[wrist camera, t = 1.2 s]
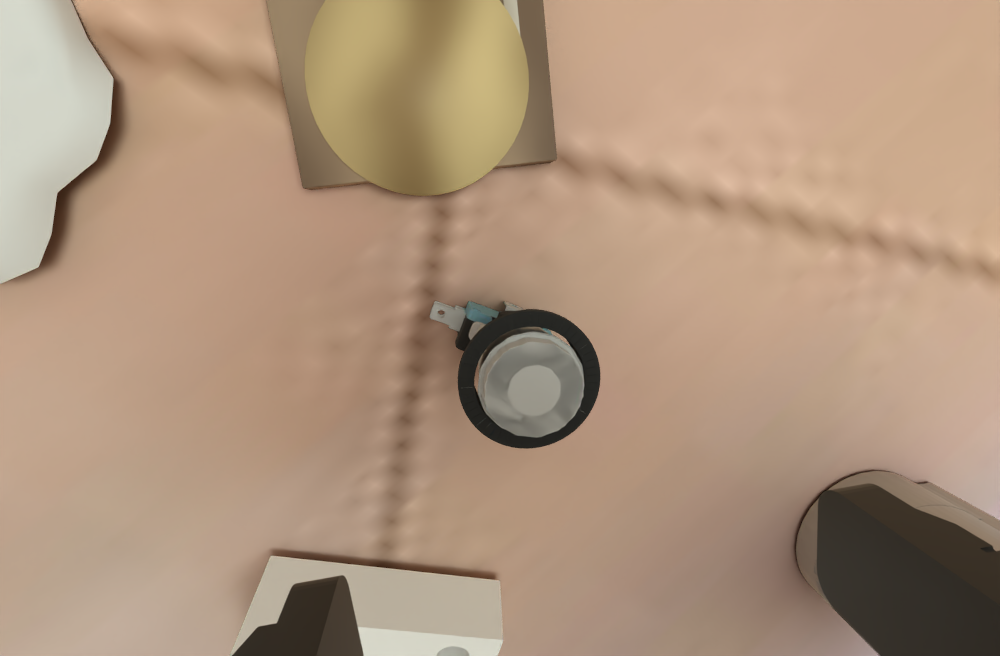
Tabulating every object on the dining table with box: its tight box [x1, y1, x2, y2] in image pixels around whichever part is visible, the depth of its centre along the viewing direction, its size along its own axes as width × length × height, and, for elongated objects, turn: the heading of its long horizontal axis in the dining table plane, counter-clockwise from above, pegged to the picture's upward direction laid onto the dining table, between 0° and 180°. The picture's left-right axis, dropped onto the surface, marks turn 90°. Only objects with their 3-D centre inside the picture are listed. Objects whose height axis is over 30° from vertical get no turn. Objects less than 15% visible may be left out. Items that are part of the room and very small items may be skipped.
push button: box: [430, 301, 600, 448], centre depth 23 cm, size 7×5×10 cm
